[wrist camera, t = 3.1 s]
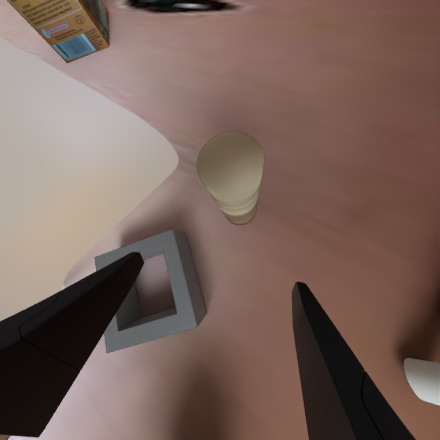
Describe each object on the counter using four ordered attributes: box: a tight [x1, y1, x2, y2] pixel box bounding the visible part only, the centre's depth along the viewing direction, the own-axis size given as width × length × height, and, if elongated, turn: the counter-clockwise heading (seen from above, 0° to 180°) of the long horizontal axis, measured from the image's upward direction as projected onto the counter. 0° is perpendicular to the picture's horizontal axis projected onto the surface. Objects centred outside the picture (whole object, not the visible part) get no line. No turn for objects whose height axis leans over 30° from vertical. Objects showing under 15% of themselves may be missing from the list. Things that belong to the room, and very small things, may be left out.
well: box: [95, 229, 207, 353], centre depth 21 cm, size 11×11×4 cm
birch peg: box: [197, 132, 264, 225], centre depth 17 cm, size 4×4×12 cm
